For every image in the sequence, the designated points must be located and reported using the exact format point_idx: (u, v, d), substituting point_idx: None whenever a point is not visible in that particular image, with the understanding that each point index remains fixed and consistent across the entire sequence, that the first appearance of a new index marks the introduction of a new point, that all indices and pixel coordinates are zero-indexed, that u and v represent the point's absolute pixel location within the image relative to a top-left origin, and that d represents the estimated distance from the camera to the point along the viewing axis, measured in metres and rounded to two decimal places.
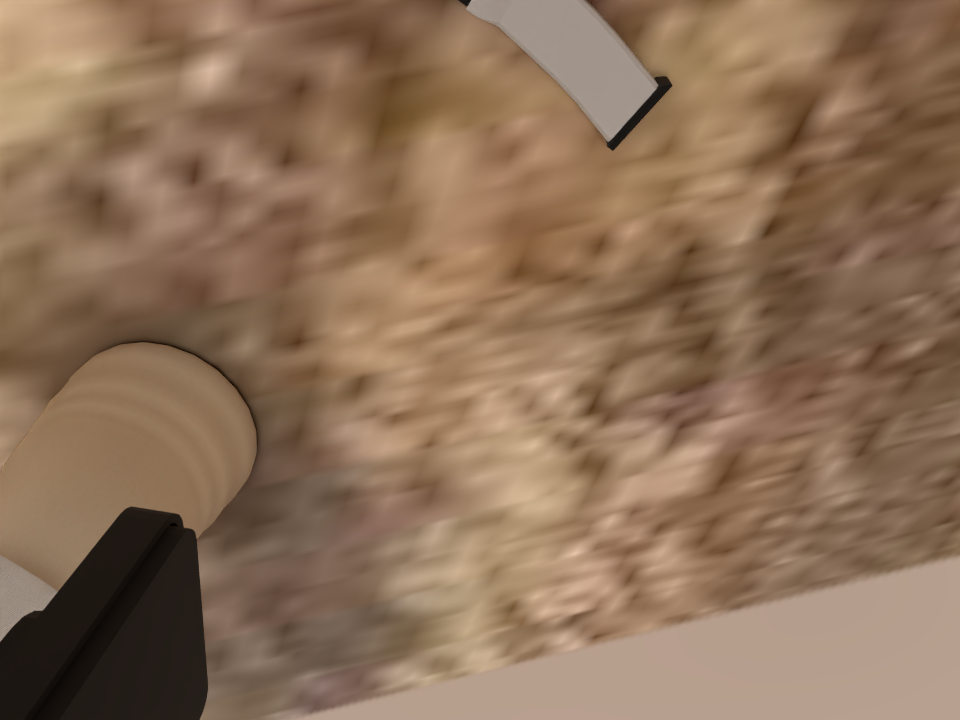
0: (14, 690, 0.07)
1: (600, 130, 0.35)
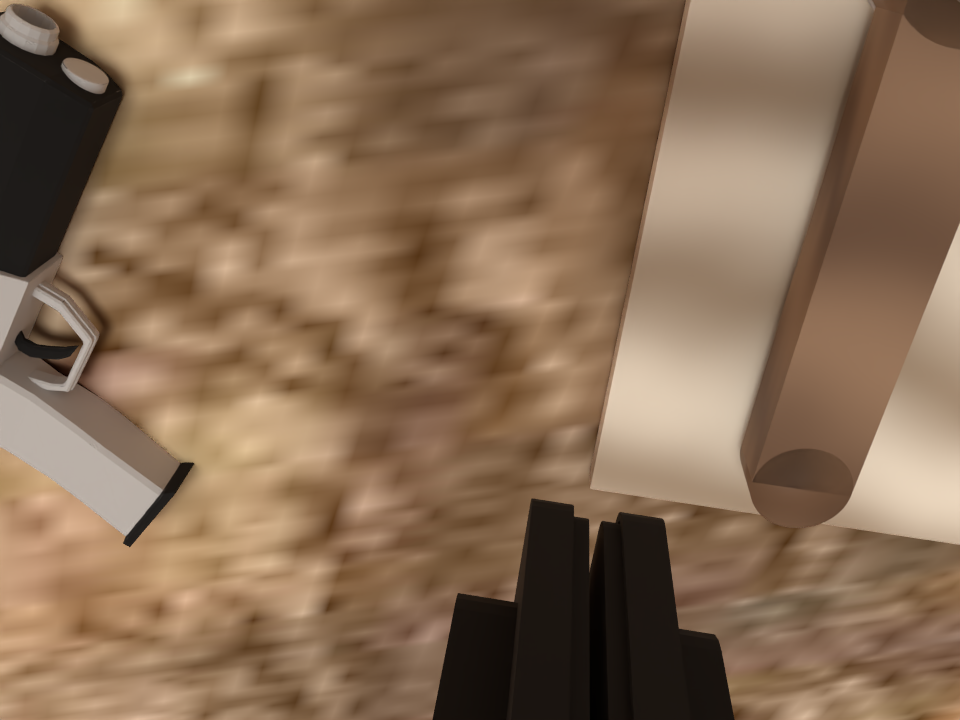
0: (546, 660, 0.08)
1: (113, 526, 0.32)
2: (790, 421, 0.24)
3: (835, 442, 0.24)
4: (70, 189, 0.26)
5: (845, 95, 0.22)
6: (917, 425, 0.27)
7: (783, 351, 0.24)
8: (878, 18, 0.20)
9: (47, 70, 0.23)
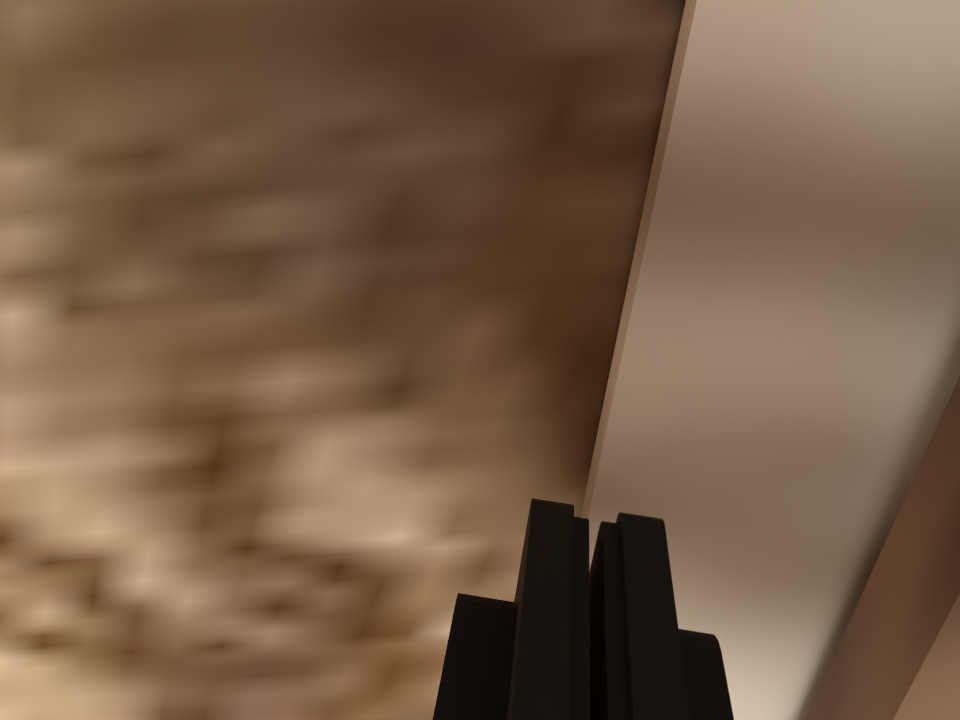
0: (546, 659, 0.08)
1: None
2: None
3: None
4: None
5: None
6: None
7: (864, 691, 0.13)
8: None
9: None
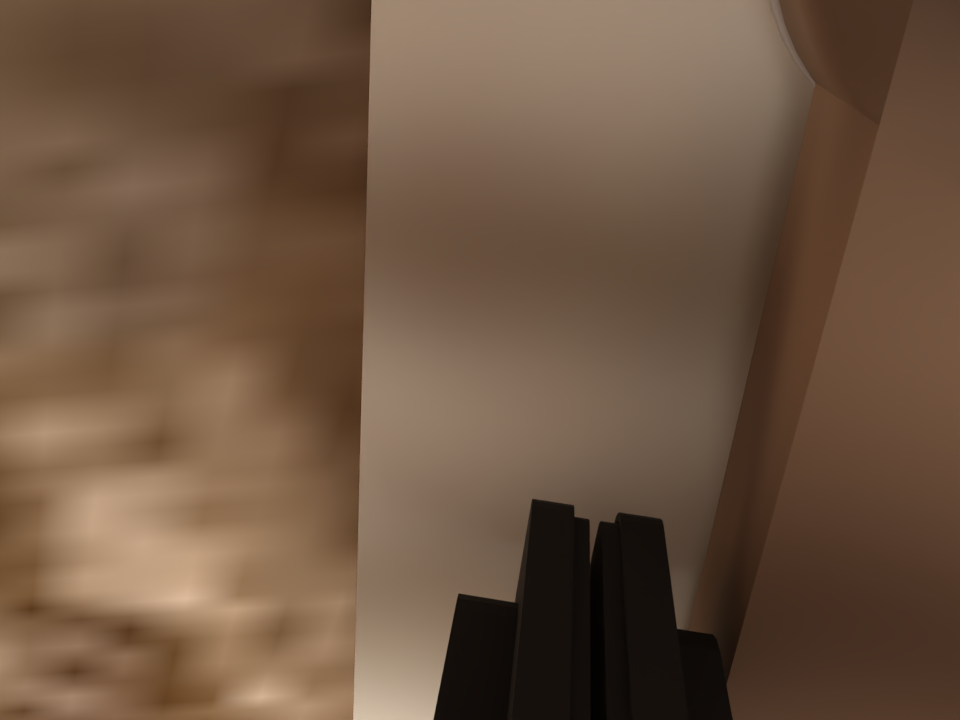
0: (546, 660, 0.08)
1: None
2: None
3: None
4: None
5: (753, 270, 0.10)
6: None
7: None
8: (821, 116, 0.08)
9: None
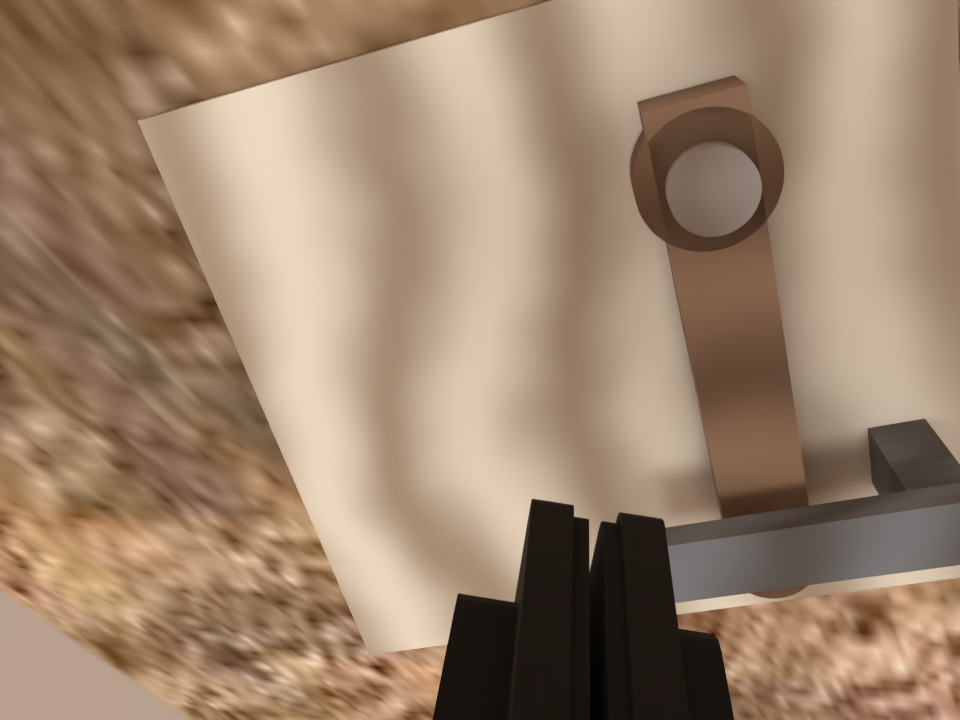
0: (546, 660, 0.08)
1: None
2: None
3: None
4: None
5: (572, 149, 0.27)
6: (351, 349, 0.31)
7: (713, 471, 0.30)
8: None
9: None
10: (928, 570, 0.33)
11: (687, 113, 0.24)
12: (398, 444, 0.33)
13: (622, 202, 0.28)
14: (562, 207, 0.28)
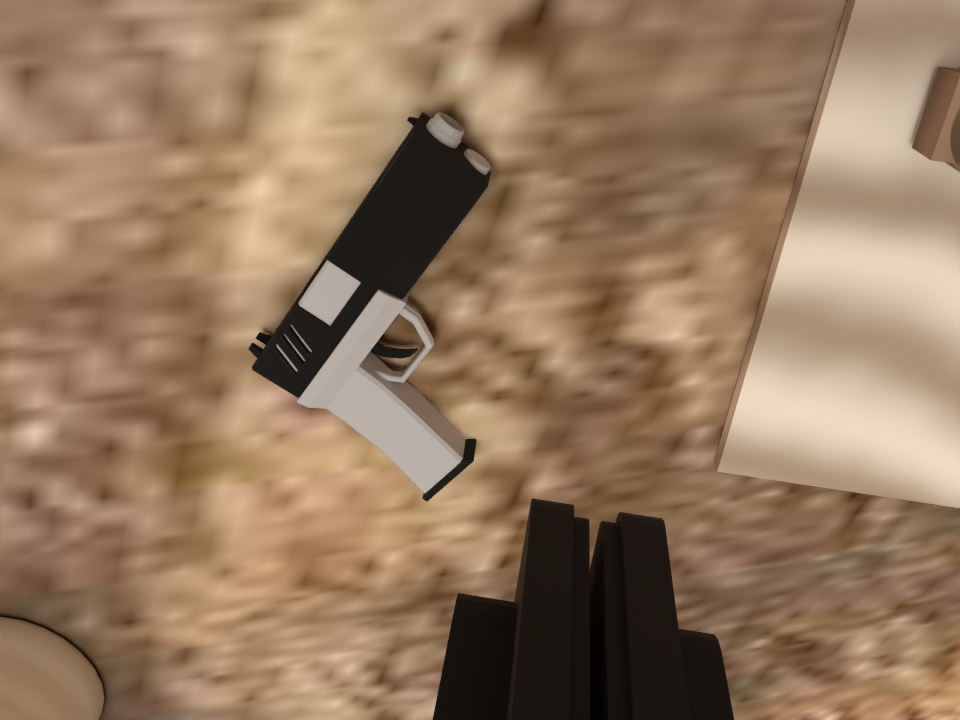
0: (546, 659, 0.08)
1: (416, 485, 0.42)
2: None
3: None
4: None
5: (914, 204, 0.33)
6: (957, 425, 0.38)
7: None
8: None
9: (462, 160, 0.33)
10: None
11: (953, 126, 0.29)
12: None
13: None
14: (953, 228, 0.34)
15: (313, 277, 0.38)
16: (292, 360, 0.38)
